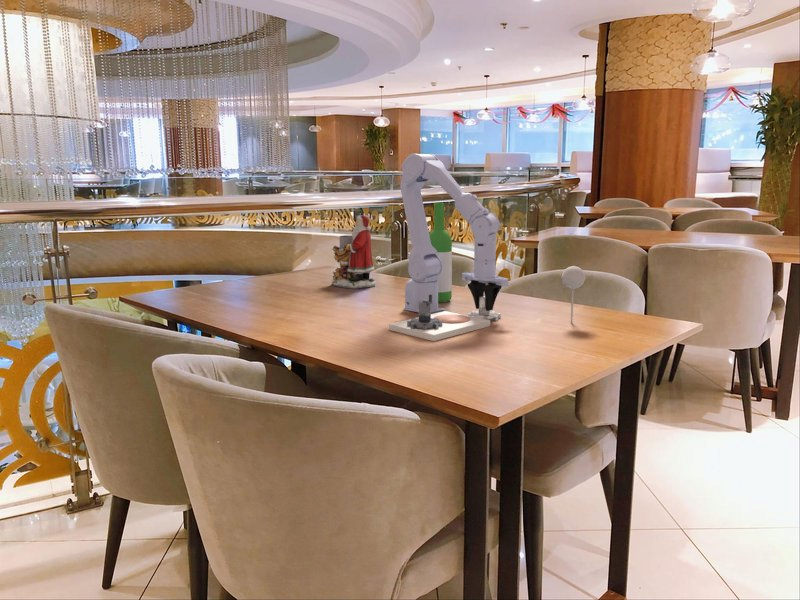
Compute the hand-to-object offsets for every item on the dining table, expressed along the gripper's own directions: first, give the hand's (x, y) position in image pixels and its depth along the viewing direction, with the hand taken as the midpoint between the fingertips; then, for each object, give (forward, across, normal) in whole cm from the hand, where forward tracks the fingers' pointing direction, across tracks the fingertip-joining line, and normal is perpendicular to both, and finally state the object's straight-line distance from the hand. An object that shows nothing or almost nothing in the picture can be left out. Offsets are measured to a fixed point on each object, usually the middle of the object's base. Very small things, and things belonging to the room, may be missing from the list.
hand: (484, 309), depth 176 cm
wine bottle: (+3, -25, +8) cm, 27 cm away
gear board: (+2, -1, -16) cm, 17 cm away
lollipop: (+3, +20, +12) cm, 23 cm away
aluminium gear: (+2, 0, 0) cm, 2 cm away
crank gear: (+1, -1, -22) cm, 22 cm away
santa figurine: (+3, -66, +8) cm, 66 cm away
